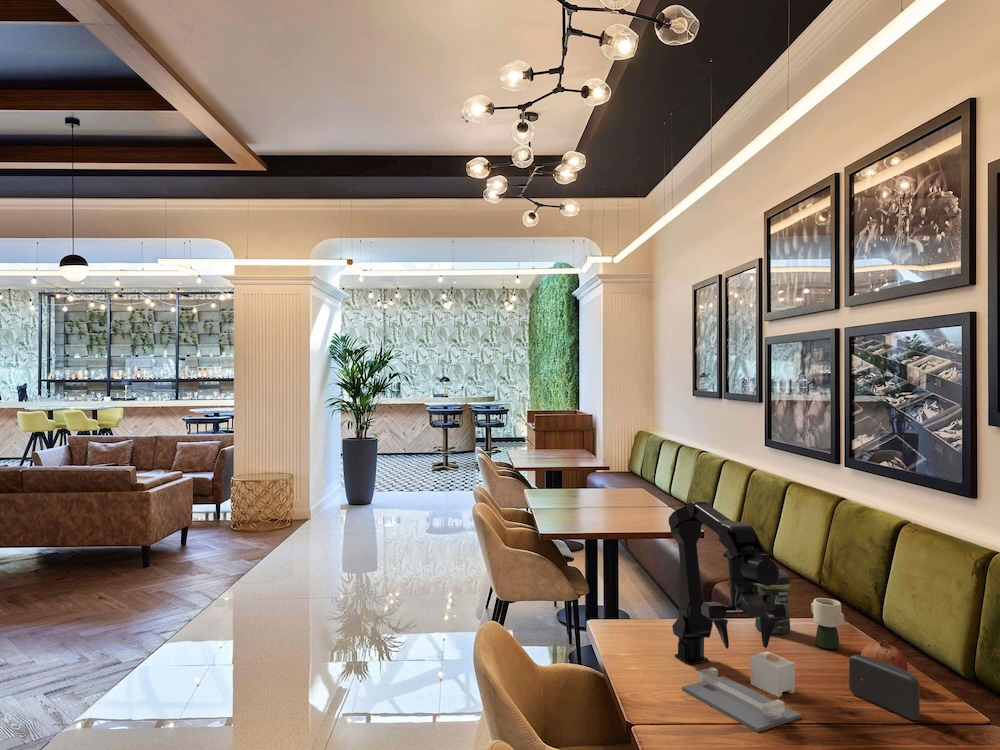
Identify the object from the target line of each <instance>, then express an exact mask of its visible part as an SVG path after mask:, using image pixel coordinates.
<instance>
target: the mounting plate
mask: <svg viewBox="0 0 1000 750" xmlns="http://www.w3.org/2000/svg"><path fill="white" fill-rule="evenodd" d="M715 680H717V681H719V682H721V683H723V684H725V685H727V686H729V687H731V688H733V689H735V690H737V691H738V692H740V693H742V694H744V695H746V696H748V697H750V698H752V699H754V700H756V701H758V702H760V703H762V704H765V703H768V702H771V701H774V700H773V699H771V698H769V697H767V696H765V695H763V694H761V693H759V692H757V691H755V690H753V689H751V688H749V687H747V686H745V685H743V684H741V683H739V682H737V681H735V680H733V679H730V678H728V677H727V676H725V675H722V676H718V678H716V679H715ZM681 690H682V691H683V692H684V691H685V693H686V692H687V694H688V695H690V696H691V697H693V696H694V697H693V698H695V699H697V700H699V701H701V702H702V703H704V704H706V705H708V706H709V707H711V708H713V709H715V710H716V711H719V712H721V713H722V714H723V715H726V716H727V717H729V718H731V719H733V720H735V721H736V722H738V723H740V724H741V725H744V726H745V727H747V728H749V729H751V730H752V731H754V732H756V733H759V732H762V731H765V730H768V729H771V728H774V727H778V726H781V725H783V724H786V723H789V722H792V721H795V719H796V720H798V718H799V719H801V718H802V713H800V712H798V711H795V710H793V709H792V708H789V707H788V706H785V712H782V713H781V719H780V720H777V721H772V720H770V719H769V718H767V717H765V716H763V715H761V714H759V713H757V712H755V711H753V710H751V709H750V708H748V707H746V706H744V705H742V704H740V703H738V702H736V701H734V700H733V699H731V698H729V697H727V696H725V695H723V694H721V693H719V692H717V691H715V690H714V689H712V688H710V687H708V686H706V685H704V684H702V683H701V681H699V682H695V683H691V684H688V685H683V686H681ZM800 717H801V718H800Z"/></svg>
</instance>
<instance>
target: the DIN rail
mask: <svg viewBox="0 0 1000 750" xmlns="http://www.w3.org/2000/svg"><path fill="white" fill-rule="evenodd" d="M718 671H719V670H718V669H717V668H715V667H709V668H704V669H701V670H697V680H698V681H699V682H701V683H702V684H704V685H706V686H708V687H710V688H712V689H714V690H715V691H717V692H719V693H721V694H723V695H725V696H727V697H729V698H731V699H733V700H734V701H736V702H738V703H740V704H742V705H744V706H746V707H748V708H750V709H751V710H753V711H755V712H757V713H759V714H761V715H763V716H765V717H767V718H769V719H770V720H772V721H777V720H780V719H781V713H782V712H785V707H786V706H785V701H783V700H780V699H779V698H777V699H775V700H773V701H771V702H768V703H765V704H762V703H760V702H758V701H756V700H754V699H752V698H750V697H748V696H746V695H744V694H742V693H740V692H738V691H737V690H735V689H733V688H731V687H729V686H727V685H725V684H723V683H721V682H719V681H717V680H715V679H716V678H718V677H719V675H718V673H719V672H718Z"/></svg>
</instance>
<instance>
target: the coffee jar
mask: <svg viewBox="0 0 1000 750" xmlns="http://www.w3.org/2000/svg"><path fill="white" fill-rule="evenodd" d="M778 570H779V576H778V579H777V581H776V582H775V584H773V585H771V586H766V585H762V584H758V583H756V585H757V588H758V592H759V595H764V594H772V595H773V596H774V599H775V601H777V602H779V603H782V604H784V605H785V606H786V608H787V615H788V617H780V618H782V621H778V622H777V623H776V624H775V625H774V627H773V630H772V632H771V635H782V634H783V635H784V634H788V633H790V632H791V621H790V620H791V619H790V609H789V608H790V607H789V592H790V588H791V576H790V574H789V571H786V570H783V569H781V568H778ZM754 624H755V628H756V629H757V630H759V631H760V632H761V624H760V617H755V623H754Z"/></svg>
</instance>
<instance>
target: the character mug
mask: <svg viewBox="0 0 1000 750" xmlns="http://www.w3.org/2000/svg"><path fill="white" fill-rule="evenodd" d="M810 605H811V614H813V621H814V622H813V623H815V624H817V628H816V635H815V644H816V646H818V647H820V648H825V649H830V650H833V649H840V637H839V631H838V627H840V626H843V625H844V624H845V615H844V613H843V612H842V603H841V602H840V601H838V600H836V599H832V598H826V597H817V598H814V599H813V602H811V604H810Z"/></svg>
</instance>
